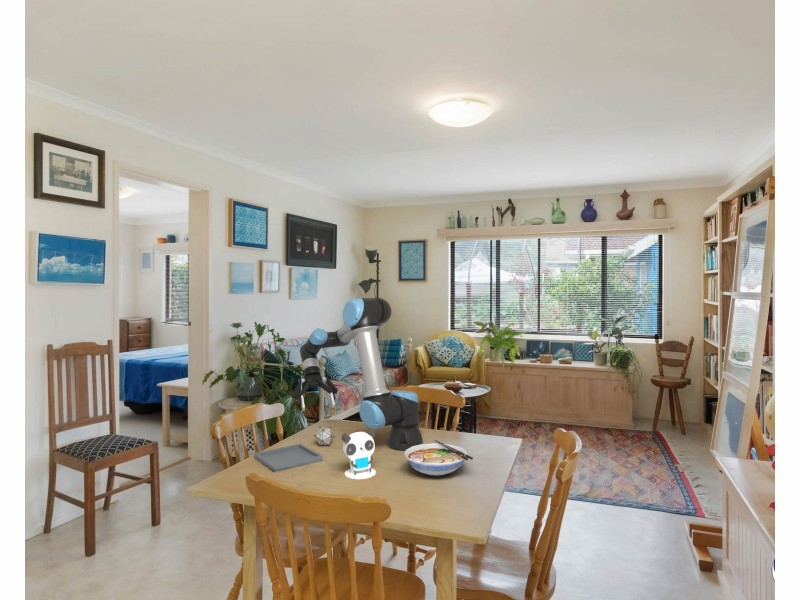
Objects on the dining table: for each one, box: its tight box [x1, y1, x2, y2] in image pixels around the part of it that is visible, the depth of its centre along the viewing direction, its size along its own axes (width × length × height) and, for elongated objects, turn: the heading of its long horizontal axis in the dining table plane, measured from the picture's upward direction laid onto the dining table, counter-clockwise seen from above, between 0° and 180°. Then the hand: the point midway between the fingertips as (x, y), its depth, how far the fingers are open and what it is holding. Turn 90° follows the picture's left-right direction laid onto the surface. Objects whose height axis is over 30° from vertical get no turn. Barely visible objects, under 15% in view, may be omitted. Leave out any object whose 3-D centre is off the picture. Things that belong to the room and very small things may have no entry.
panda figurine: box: [341, 429, 377, 480], centre depth 183 cm, size 12×11×15 cm
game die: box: [313, 426, 336, 447], centre depth 218 cm, size 9×8×10 cm
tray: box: [253, 443, 323, 473], centre depth 200 cm, size 20×20×2 cm
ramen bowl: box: [403, 439, 474, 477], centre depth 183 cm, size 25×23×8 cm
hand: (318, 407), depth 227 cm, fingers open, 13 cm apart
